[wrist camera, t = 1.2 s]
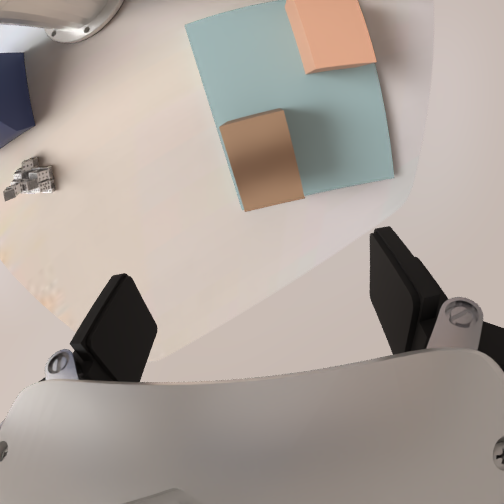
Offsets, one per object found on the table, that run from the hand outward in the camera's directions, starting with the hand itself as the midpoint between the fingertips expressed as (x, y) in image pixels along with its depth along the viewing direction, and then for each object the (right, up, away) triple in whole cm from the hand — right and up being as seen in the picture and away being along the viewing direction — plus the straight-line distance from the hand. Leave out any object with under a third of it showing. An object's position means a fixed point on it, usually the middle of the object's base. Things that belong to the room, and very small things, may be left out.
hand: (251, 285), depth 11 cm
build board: (+5, +18, +16) cm, 24 cm away
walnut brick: (+1, +12, +18) cm, 22 cm away
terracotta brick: (+7, +23, +12) cm, 27 cm away
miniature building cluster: (-29, +14, +21) cm, 38 cm away
